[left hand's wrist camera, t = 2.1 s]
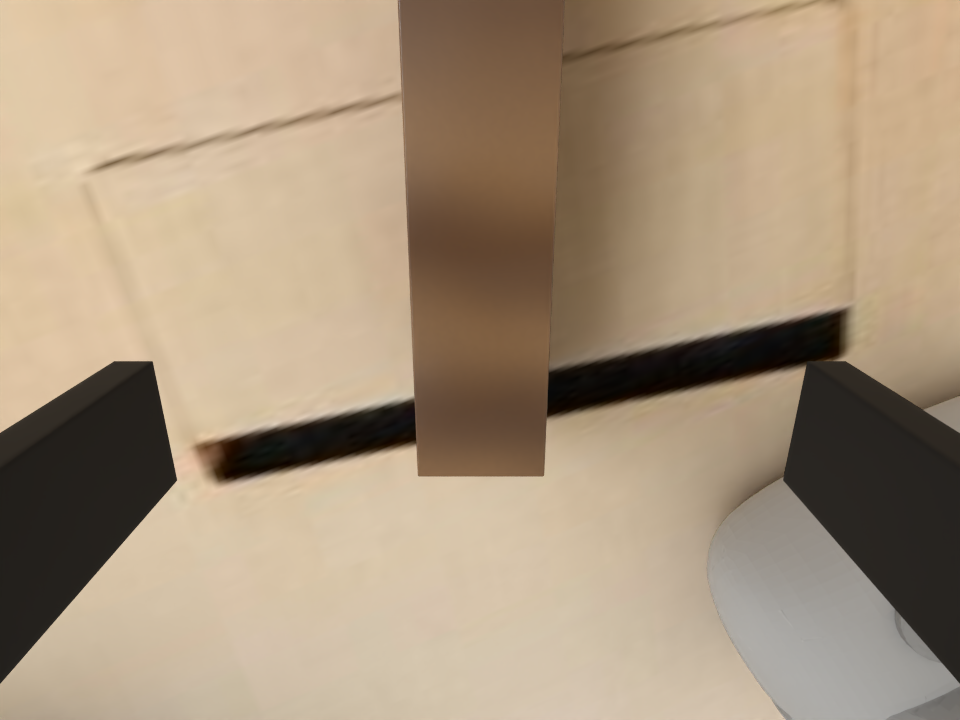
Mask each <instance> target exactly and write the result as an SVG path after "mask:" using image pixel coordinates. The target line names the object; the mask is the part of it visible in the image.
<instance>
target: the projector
mask: <svg viewBox="0 0 960 720" xmlns="http://www.w3.org/2000/svg"><path fill="white" fill-rule="evenodd" d="M923 410H924V411H925V412H927V413H929V414H930V415H932V416H933V417H935V418H937V419H938V420H940V421H941V422H943V423H945V424H946V425H948V426H949V427H951V428H953V429H954V430H956V431H957V432H959V433H960V396H957V397H955V398H952V399H950V400H947V401H944V402H942V403H939V404H936V405H934V406H931V407H928V408H926V409H923ZM783 478H784V476H783V477H782V478H780V479H778V480H777V481H775V482H773V483H772V484H770V485H768V486H766V487H765V488H763V489H762V490H760V491H759V492H757V493H756V494H755V495H753V496H752V497H750V498H749V499H747V500H746V501H745V502H743V503H742V504H741V505H740V506H738V507H737V508H736V509H735V510H734V511H732V512H731V513H730V514H729V515H728V516H727V518H726V519H725V520H724V521H723V522H722V523H721V525H720V526H719V528H718V529H717V531H716V533H715V535H714V537H713V539H712V541H711V545H710V548H709V552H708V560H707V576H708V582H709V586H710V590H711V594H712V597H713V600H714V603H715V606H716V608H717V611H718V614H719V616H720V619H721V621H722V623H723V625H724V627H725V629H726V631H727V633H728V635H729V637H730V639H731V641H732V643H733V644H734V646H735V648H736V650H737V651H738V653H739V654H740V656H741V658H742V659H743V661H744V662H745V664H746V665H747V667H748V668H749V670H750V671H751V673H752V674H753V676H754V677H755V679H756V680H757V682H758V683H759V684H760V686H761V687H762V688H763V690H764V691H765V692H766V693H767V695H768V696H769V697H770V698H771V699H772V701H773V703H774V704H775V706H776V707H777V709H778V710H779V711H780V713H781V714H782V716H783V717H784V718H785V719H786V720H960V683H959V682H958V681H957V680H956V679H955V678H954V676H953V675H952V674H951V673H950V672H949V671H948V670H947V668H946V667H945V666H944V665H943V664H942V663H941V662H940V660H939V659H938V658H937V657H936V656H935V655H934V653H933V652H932V651H931V650H930V649H929V648H928V647H927V645H926V644H925V643H924V642H923V641H922V640H921V639H920V637H919V636H918V635H917V634H916V633H915V632H914V630H913V629H912V628H911V627H910V626H909V625H908V624H907V622H906V621H905V620H904V619H903V618H902V617H901V616H900V614H899V613H898V612H897V611H896V610H895V609H894V607H893V606H892V605H891V604H890V603H889V602H888V601H887V599H886V598H885V597H884V596H883V595H882V594H881V593H880V591H879V590H878V589H877V588H876V587H875V586H874V584H873V583H872V582H871V581H870V580H869V579H868V578H867V576H866V575H865V574H864V573H863V572H862V571H861V570H860V568H859V567H858V566H857V565H856V564H855V563H854V561H853V560H852V559H851V558H850V557H849V556H848V555H847V553H846V552H845V551H844V550H843V549H842V548H841V547H840V545H839V544H838V543H837V542H836V541H835V540H834V538H833V537H832V536H831V535H830V534H829V533H828V532H827V530H826V529H825V528H824V527H823V526H822V525H821V524H820V522H819V521H818V520H817V519H816V518H815V517H814V515H813V514H812V513H811V512H810V511H809V510H808V509H807V507H806V506H805V505H804V504H803V503H802V502H801V501H800V499H799V498H798V497H797V496H796V495H795V494H794V493H793V491H792V490H791V489H790V488H789V487H788V486H787V484H786V483H785V482H784V481H783Z"/></svg>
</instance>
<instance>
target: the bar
mask: <svg viewBox="0 0 960 720" xmlns="http://www.w3.org/2000/svg"><path fill="white" fill-rule="evenodd" d="M564 5H565V0H398V16H399V39H400V63H401V87H402V111H403V134H404V158H405V182H406V205H407V229H408V253H409V277H410V300H411V324H412V348H413V371H414V395H415V419H416V443H417V466H418V476H544V465H545V442H546V419H547V396H548V373H549V350H550V327H551V304H552V281H553V258H554V235H555V212H556V189H557V166H558V143H559V120H560V97H561V74H562V51H563V28H564Z"/></svg>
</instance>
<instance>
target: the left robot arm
mask: <svg viewBox="0 0 960 720" xmlns="http://www.w3.org/2000/svg"><path fill="white" fill-rule="evenodd" d="M176 481H177V478H176V473H175V468H174V463H173V458H172V453H171V448H170V444H169V439H168V434H167V429H166V424H165V419H164V414H163V410H162V405H161V400H160V395H159V390H158V385H157V381H156V376H155V371H154V366H153V361H114V362H113V363H111V364H109V365H108V366H106V367H105V368H103V369H101V370H100V371H98V372H97V373H95V374H94V375H92V376H90V377H89V378H87V379H86V380H84V381H82V382H81V383H79V384H78V385H76V386H74V387H73V388H71V389H70V390H68V391H66V392H65V393H63V394H62V395H60V396H58V397H57V398H55V399H54V400H52V401H50V402H49V403H47V404H46V405H44V406H42V407H41V408H39V409H38V410H36V411H35V412H33V413H31V414H30V415H28V416H27V417H25V418H23V419H22V420H20V421H19V422H17V423H15V424H14V425H12V426H11V427H9V428H7V429H6V430H4V431H3V432H1V433H0V683H1V682H2V681H3V680H4V679H5V678H6V676H7V675H8V674H9V673H10V672H11V671H12V670H13V668H14V667H15V666H16V665H17V664H18V663H19V662H20V660H21V659H22V658H23V657H24V656H25V655H26V653H27V652H28V651H29V650H30V649H31V648H32V647H33V645H34V644H35V643H36V642H37V641H38V640H39V639H40V637H41V636H42V635H43V634H44V633H45V632H46V630H47V629H48V628H49V627H50V626H51V625H52V624H53V622H54V621H55V620H56V619H57V618H58V617H59V616H60V614H61V613H62V612H63V611H64V610H65V609H66V607H67V606H68V605H69V604H70V603H71V602H72V601H73V599H74V598H75V597H76V596H77V595H78V594H79V593H80V591H81V590H82V589H83V588H84V587H85V586H86V584H87V583H88V582H89V581H90V580H91V579H92V578H93V576H94V575H95V574H96V573H97V572H98V571H99V570H100V568H101V567H102V566H103V565H104V564H105V563H106V561H107V560H108V559H109V558H110V557H111V556H112V555H113V553H114V552H115V551H116V550H117V549H118V548H119V547H120V545H121V544H122V543H123V542H124V541H125V540H126V538H127V537H128V536H129V535H130V534H131V533H132V532H133V530H134V529H135V528H136V527H137V526H138V525H139V524H140V522H141V521H142V520H143V519H144V518H145V517H146V515H147V514H148V513H149V512H150V511H151V510H152V509H153V507H154V506H155V505H156V504H157V503H158V502H159V501H160V499H161V498H162V497H163V496H164V495H165V494H166V493H167V491H168V490H169V489H170V488H171V487H172V486H173V484H174V483H175V482H176ZM783 481H784V482H785V483H786V484H787V486H788V487H789V488H790V489H791V490H792V491H793V493H794V494H795V495H796V496H797V497H798V498H799V499H800V501H801V502H802V503H803V504H804V505H805V506H806V507H807V509H808V510H809V511H810V512H811V513H812V514H813V515H814V517H815V518H816V519H817V520H818V521H819V522H820V524H821V525H822V526H823V527H824V528H825V529H826V530H827V532H828V533H829V534H830V535H831V536H832V537H833V538H834V540H835V541H836V542H837V543H838V544H839V545H840V547H841V548H842V549H843V550H844V551H845V552H846V553H847V555H848V556H849V557H850V558H851V559H852V560H853V561H854V563H855V564H856V565H857V566H858V567H859V568H860V570H861V571H862V572H863V573H864V574H865V575H866V576H867V578H868V579H869V580H870V581H871V582H872V583H873V584H874V586H875V587H876V588H877V589H878V590H879V591H880V593H881V594H882V595H883V596H884V597H885V598H886V599H887V601H888V602H889V603H890V604H891V605H892V606H893V607H894V609H895V610H896V611H897V612H898V613H899V614H900V616H901V617H902V618H903V619H904V620H905V621H906V622H907V624H908V625H909V626H910V627H911V628H912V629H913V630H914V632H915V633H916V634H917V635H918V636H919V637H920V639H921V640H922V641H923V642H924V643H925V644H926V645H927V647H928V648H929V649H930V650H931V651H932V652H933V653H934V655H935V656H936V657H937V658H938V659H939V660H940V662H941V663H942V664H943V665H944V666H945V667H946V668H947V670H948V671H949V672H950V673H951V674H952V675H953V676H954V678H955V679H956V680H957V681H958V682H959V683H960V433H959V432H957V431H956V430H954V429H953V428H951V427H949V426H948V425H946V424H945V423H943V422H941V421H940V420H938V419H937V418H935V417H933V416H932V415H930V414H929V413H927V412H925V411H924V410H922V409H921V408H919V407H918V406H916V405H914V404H913V403H911V402H910V401H908V400H906V399H905V398H903V397H902V396H900V395H898V394H897V393H895V392H894V391H892V390H890V389H889V388H887V387H886V386H884V385H882V384H881V383H879V382H878V381H876V380H874V379H873V378H871V377H870V376H868V375H866V374H865V373H863V372H862V371H860V370H859V369H857V368H855V367H854V366H852V365H851V364H849V363H847V362H846V361H807V366H806V371H805V376H804V381H803V385H802V390H801V395H800V400H799V405H798V410H797V414H796V419H795V424H794V429H793V434H792V439H791V444H790V448H789V453H788V458H787V463H786V468H785V473H784V478H783Z"/></svg>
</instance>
